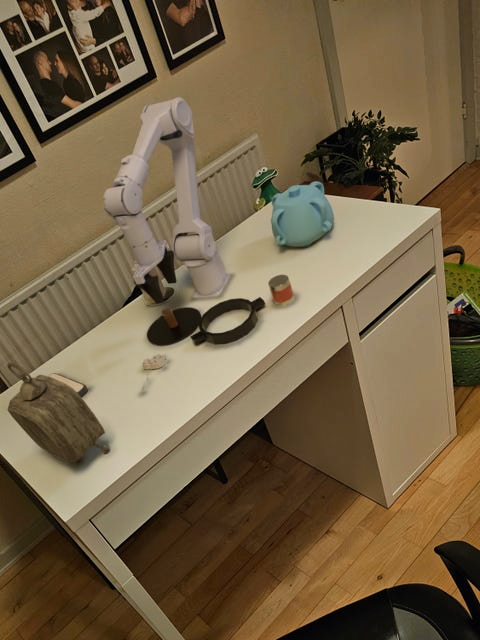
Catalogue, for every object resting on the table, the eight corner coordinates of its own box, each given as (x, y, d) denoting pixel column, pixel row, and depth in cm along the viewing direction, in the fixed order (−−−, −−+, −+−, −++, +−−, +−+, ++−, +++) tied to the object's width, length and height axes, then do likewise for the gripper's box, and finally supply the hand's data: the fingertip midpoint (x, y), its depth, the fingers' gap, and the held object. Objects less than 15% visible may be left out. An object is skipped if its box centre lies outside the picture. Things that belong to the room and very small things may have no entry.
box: (162, 303, 147) (144, 267, 140) (148, 305, 149) (130, 270, 141) (167, 291, 150) (150, 256, 143) (154, 294, 152) (136, 259, 145)
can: (277, 295, 131) (271, 275, 127) (297, 293, 129) (291, 273, 125) (272, 307, 128) (265, 287, 124) (291, 306, 126) (285, 285, 122)
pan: (186, 335, 132) (181, 324, 130) (252, 297, 134) (248, 286, 132) (206, 360, 122) (201, 349, 120) (278, 319, 124) (274, 307, 122)
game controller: (168, 355, 129) (164, 347, 127) (165, 387, 120) (161, 378, 119) (146, 362, 130) (141, 353, 128) (142, 394, 121) (137, 385, 120)
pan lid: (141, 331, 140) (131, 313, 137) (190, 303, 142) (182, 285, 138) (158, 356, 130) (148, 337, 126) (211, 326, 131) (202, 307, 128)
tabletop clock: (119, 448, 111) (51, 355, 94) (88, 481, 107) (12, 390, 90) (78, 430, 120) (10, 342, 103) (48, 460, 116) (-28, 374, 99)
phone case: (30, 398, 136) (63, 415, 126) (26, 394, 135) (59, 410, 125) (56, 375, 139) (90, 389, 129) (53, 371, 138) (87, 384, 128)
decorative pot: (280, 228, 155) (266, 181, 146) (336, 214, 149) (325, 165, 140) (274, 258, 144) (258, 210, 135) (334, 244, 139) (322, 193, 130)
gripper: (140, 225, 125) (164, 276, 135) (111, 261, 117) (139, 312, 126) (165, 221, 122) (188, 273, 131) (138, 257, 114) (165, 310, 123)
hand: (166, 292), depth 128 cm, fingers open, 7 cm apart
